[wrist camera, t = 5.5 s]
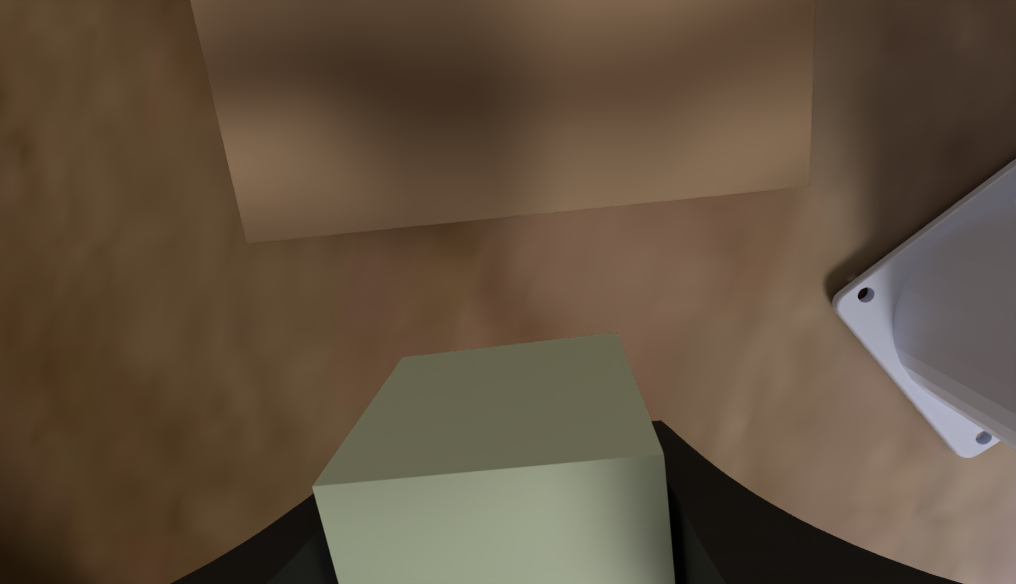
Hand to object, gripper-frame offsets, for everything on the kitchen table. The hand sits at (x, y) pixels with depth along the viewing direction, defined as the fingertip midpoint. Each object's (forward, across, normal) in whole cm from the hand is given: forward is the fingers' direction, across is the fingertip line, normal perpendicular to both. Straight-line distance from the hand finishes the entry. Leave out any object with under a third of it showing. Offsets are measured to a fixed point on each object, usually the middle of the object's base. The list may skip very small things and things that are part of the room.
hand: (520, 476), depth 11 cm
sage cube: (+1, 0, 0) cm, 1 cm away
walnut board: (+8, 0, -9) cm, 13 cm away
